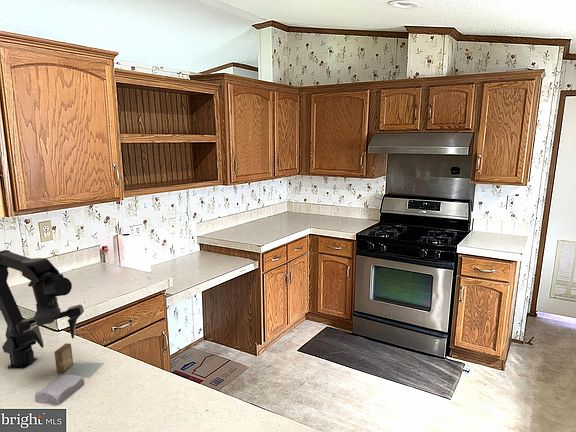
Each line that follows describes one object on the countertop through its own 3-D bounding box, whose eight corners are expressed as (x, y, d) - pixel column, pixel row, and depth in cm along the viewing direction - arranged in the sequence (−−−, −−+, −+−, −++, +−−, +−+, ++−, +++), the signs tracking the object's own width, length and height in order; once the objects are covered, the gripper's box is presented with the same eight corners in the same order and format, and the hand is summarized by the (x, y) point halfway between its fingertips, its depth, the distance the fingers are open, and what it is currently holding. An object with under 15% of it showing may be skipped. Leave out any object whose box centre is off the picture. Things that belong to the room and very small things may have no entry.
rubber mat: (47, 377, 136) (47, 376, 136) (63, 362, 144) (63, 362, 144) (90, 378, 134) (89, 377, 134) (104, 363, 143) (104, 363, 143)
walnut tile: (57, 373, 137) (54, 352, 136) (67, 364, 143) (65, 343, 141) (62, 374, 137) (60, 352, 135) (73, 364, 143) (71, 343, 141)
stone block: (33, 409, 122) (60, 407, 120) (28, 394, 121) (56, 391, 119) (62, 388, 133) (88, 385, 131) (58, 374, 133) (84, 371, 131)
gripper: (4, 311, 122) (18, 360, 123) (71, 294, 128) (83, 341, 129) (17, 303, 133) (29, 348, 134) (78, 287, 138) (89, 331, 139)
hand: (58, 342), depth 134 cm, fingers open, 9 cm apart
